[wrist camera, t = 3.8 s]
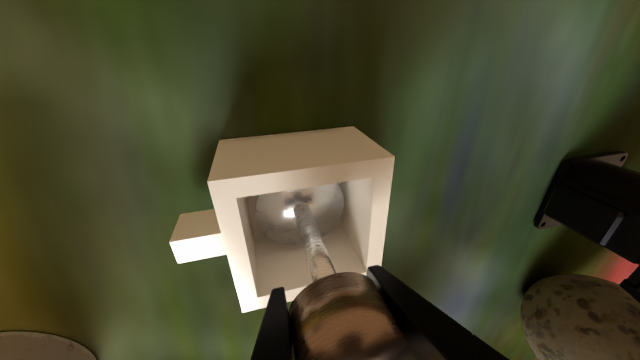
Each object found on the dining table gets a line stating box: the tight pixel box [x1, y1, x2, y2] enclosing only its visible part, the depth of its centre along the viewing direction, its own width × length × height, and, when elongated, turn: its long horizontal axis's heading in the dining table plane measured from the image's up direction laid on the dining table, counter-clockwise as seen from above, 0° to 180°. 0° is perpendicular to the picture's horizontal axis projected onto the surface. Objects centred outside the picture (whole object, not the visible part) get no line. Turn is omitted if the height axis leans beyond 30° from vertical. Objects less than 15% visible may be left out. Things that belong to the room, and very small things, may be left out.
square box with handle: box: [169, 126, 395, 313], centre depth 13 cm, size 9×7×4 cm
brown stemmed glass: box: [255, 183, 411, 360], centre depth 10 cm, size 5×5×8 cm
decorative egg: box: [521, 274, 640, 360], centre depth 22 cm, size 11×11×15 cm
